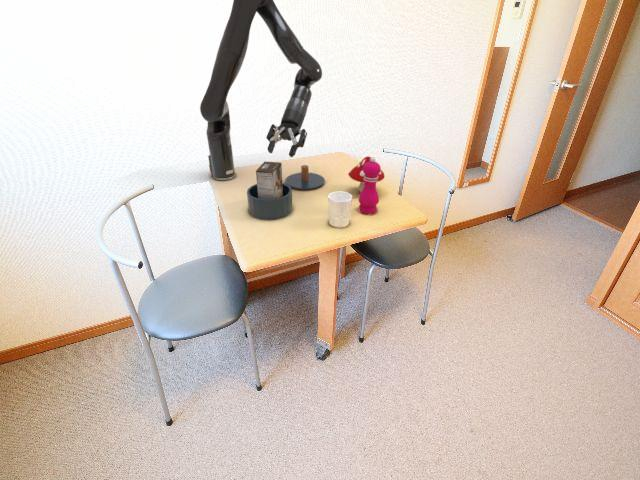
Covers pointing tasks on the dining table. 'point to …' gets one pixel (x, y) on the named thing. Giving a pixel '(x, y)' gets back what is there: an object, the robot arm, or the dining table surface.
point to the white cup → (339, 208)
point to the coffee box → (269, 180)
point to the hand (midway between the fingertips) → (280, 154)
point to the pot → (269, 204)
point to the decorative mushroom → (362, 173)
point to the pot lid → (305, 179)
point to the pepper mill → (369, 188)
